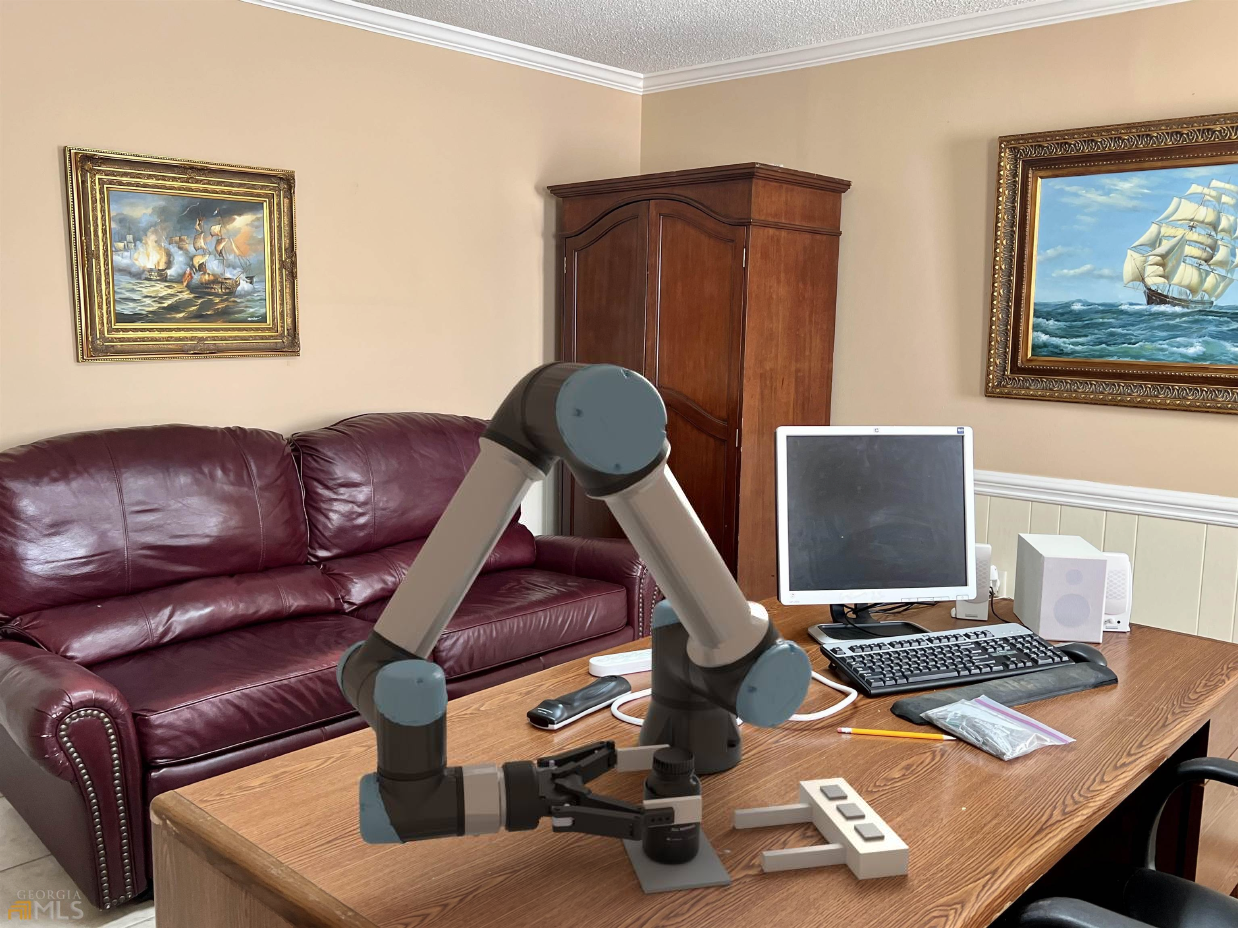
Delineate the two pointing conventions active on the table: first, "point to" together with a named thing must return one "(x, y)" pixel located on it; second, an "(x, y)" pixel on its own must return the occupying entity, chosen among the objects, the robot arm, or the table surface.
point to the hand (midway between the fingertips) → (684, 780)
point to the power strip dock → (832, 832)
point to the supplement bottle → (671, 782)
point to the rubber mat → (677, 869)
